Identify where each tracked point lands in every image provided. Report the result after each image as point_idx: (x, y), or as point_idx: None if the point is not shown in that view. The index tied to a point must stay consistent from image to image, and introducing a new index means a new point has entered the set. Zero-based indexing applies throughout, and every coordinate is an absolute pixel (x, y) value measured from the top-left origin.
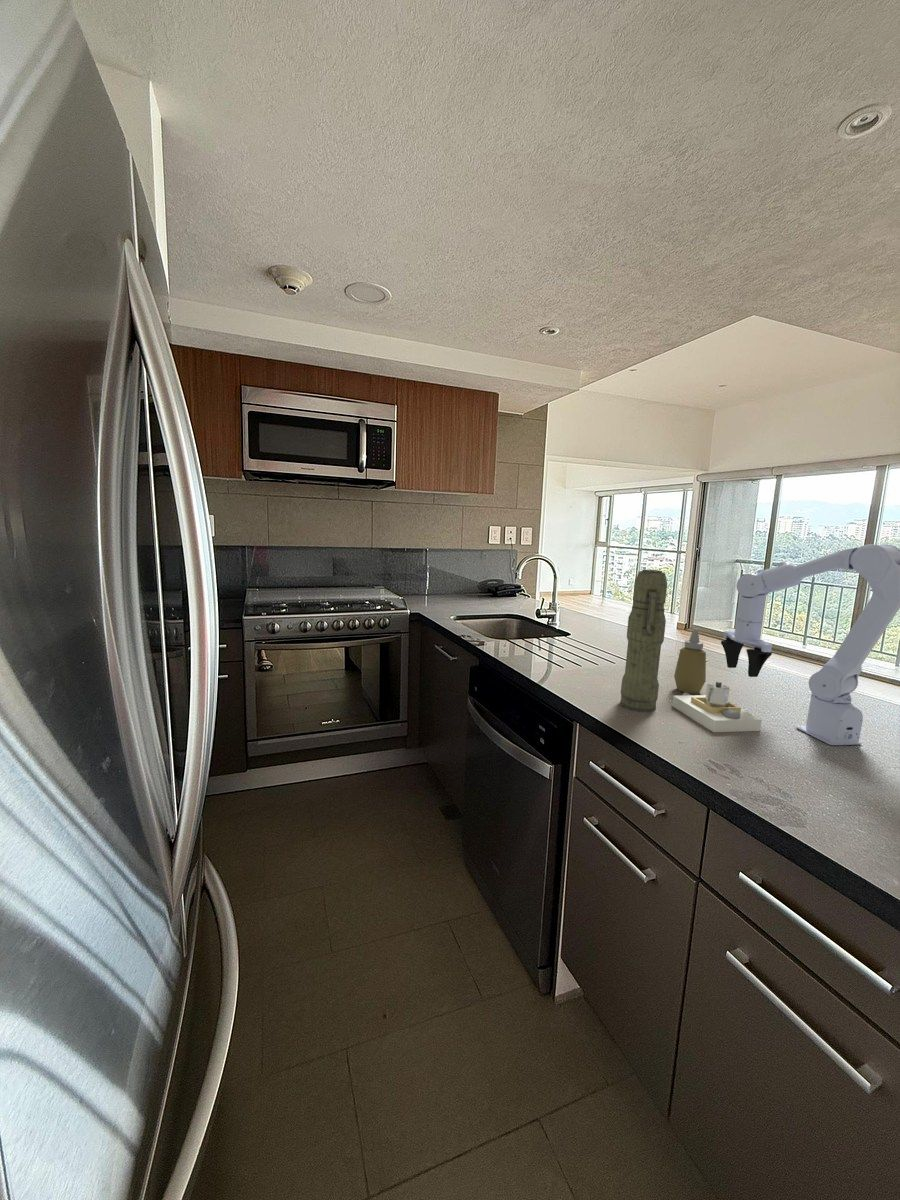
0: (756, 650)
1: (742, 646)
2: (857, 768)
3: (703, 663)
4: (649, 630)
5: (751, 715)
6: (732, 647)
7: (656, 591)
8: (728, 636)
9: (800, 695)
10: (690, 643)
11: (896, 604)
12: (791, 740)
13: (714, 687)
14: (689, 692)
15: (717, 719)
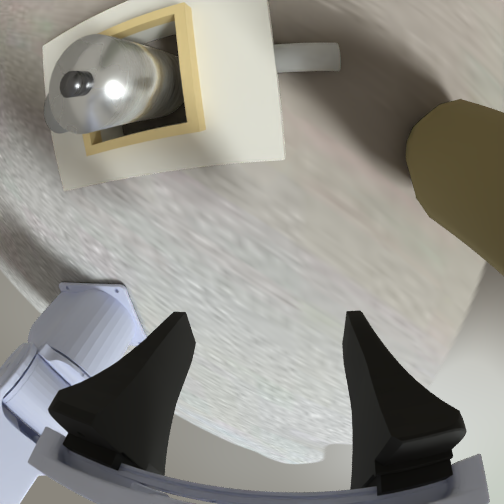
0: (85, 438)
1: (352, 469)
2: (8, 254)
3: (469, 224)
4: None
5: (83, 177)
6: (369, 434)
7: None
8: (444, 488)
9: (341, 415)
10: None
11: None
12: (58, 223)
13: (71, 60)
14: (411, 132)
15: (47, 55)
